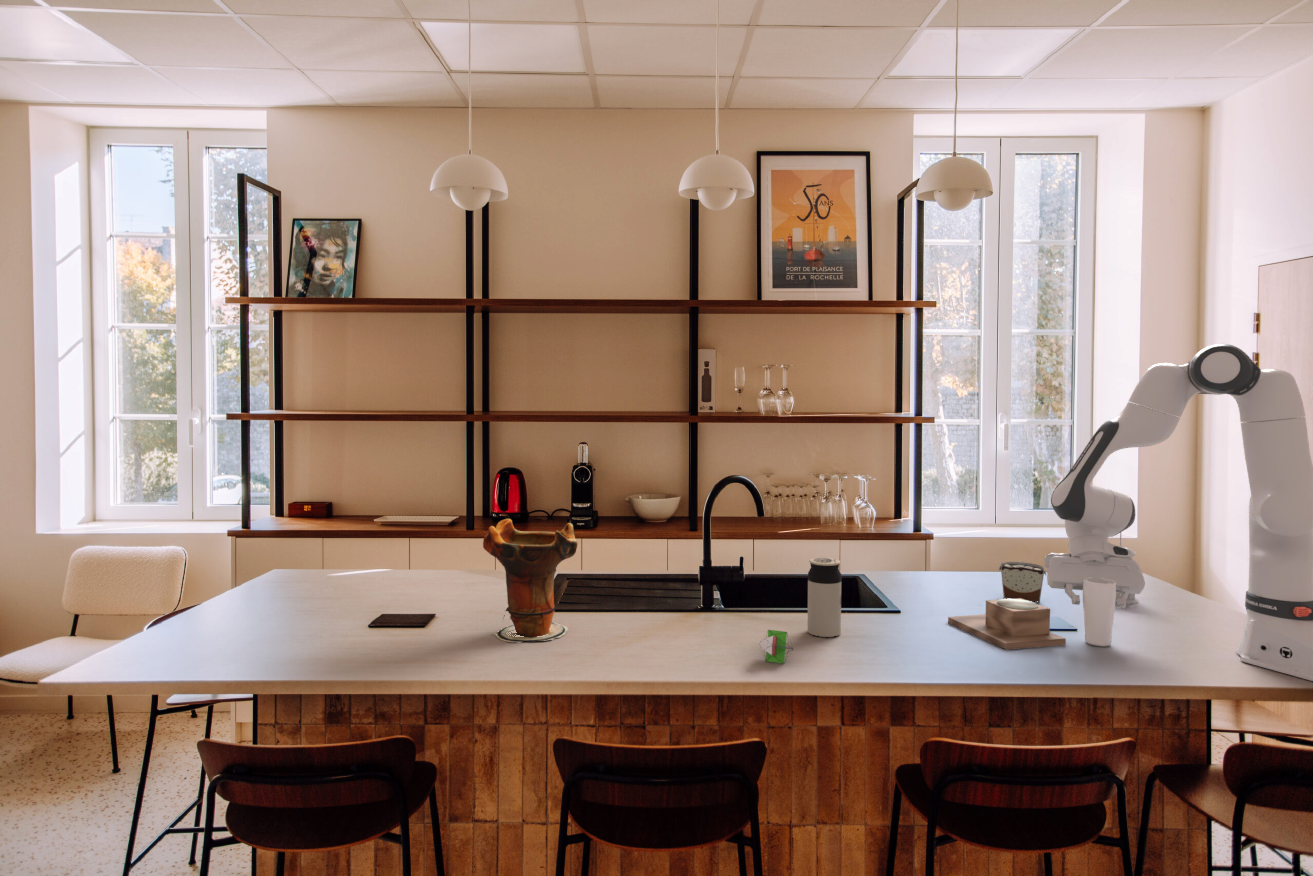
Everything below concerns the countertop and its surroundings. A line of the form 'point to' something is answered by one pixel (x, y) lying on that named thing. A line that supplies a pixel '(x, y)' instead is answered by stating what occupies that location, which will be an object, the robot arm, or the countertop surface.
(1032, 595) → the food container
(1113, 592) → the drinking glass
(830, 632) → the travel mug
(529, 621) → the decorative vase
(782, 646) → the geometric puzzle
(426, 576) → the countertop surface
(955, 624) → the walnut display stand
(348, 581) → the countertop surface
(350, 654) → the countertop surface
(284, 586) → the countertop surface
